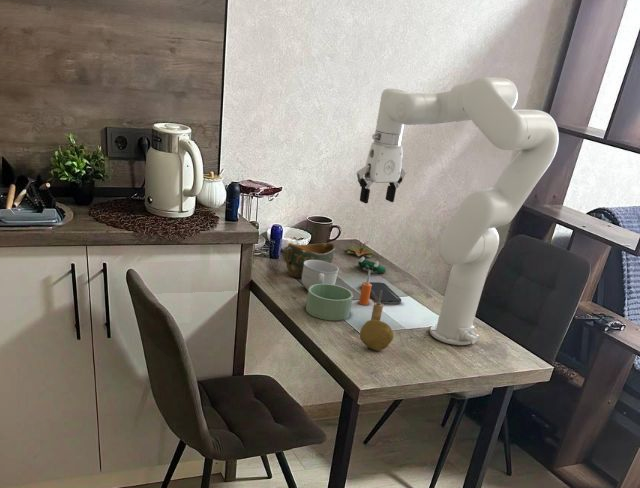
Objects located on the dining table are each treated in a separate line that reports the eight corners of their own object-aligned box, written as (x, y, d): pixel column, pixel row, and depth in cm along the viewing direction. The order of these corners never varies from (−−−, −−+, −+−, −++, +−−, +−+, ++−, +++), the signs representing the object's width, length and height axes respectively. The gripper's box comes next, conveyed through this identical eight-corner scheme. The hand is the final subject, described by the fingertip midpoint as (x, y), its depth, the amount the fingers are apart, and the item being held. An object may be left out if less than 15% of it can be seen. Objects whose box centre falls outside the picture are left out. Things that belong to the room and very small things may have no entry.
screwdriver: (369, 304, 218) (376, 272, 212) (362, 305, 217) (368, 273, 211) (364, 301, 220) (370, 269, 214) (357, 302, 218) (363, 269, 213)
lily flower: (340, 255, 255) (343, 242, 252) (347, 246, 264) (349, 233, 262) (374, 261, 253) (376, 248, 250) (379, 252, 263) (381, 239, 260)
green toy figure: (358, 271, 247) (354, 262, 242) (363, 262, 248) (359, 252, 242) (381, 279, 244) (378, 270, 238) (387, 270, 244) (383, 260, 238)
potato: (355, 343, 193) (361, 315, 189) (382, 343, 195) (388, 315, 191) (363, 354, 188) (369, 326, 183) (391, 354, 189) (397, 326, 185)
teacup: (303, 281, 228) (307, 256, 223) (337, 287, 227) (341, 262, 222) (295, 296, 216) (298, 270, 212) (330, 303, 215) (334, 277, 211)
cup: (270, 265, 237) (274, 234, 231) (328, 267, 242) (333, 236, 237) (280, 279, 227) (284, 248, 221) (340, 281, 232) (345, 249, 227)
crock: (358, 317, 208) (361, 297, 205) (322, 323, 202) (325, 302, 199) (332, 301, 217) (335, 281, 213) (297, 305, 210) (299, 286, 207)
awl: (381, 325, 205) (387, 292, 200) (373, 326, 204) (380, 293, 198) (375, 322, 207) (382, 288, 201) (368, 323, 206) (374, 289, 200)
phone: (383, 282, 232) (402, 300, 220) (382, 285, 233) (401, 303, 221) (360, 282, 230) (379, 300, 218) (360, 285, 230) (378, 303, 219)
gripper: (371, 141, 195) (361, 206, 205) (419, 141, 204) (407, 204, 213) (355, 135, 200) (345, 199, 210) (402, 136, 209) (391, 197, 218)
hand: (376, 201), depth 211 cm, fingers open, 9 cm apart
